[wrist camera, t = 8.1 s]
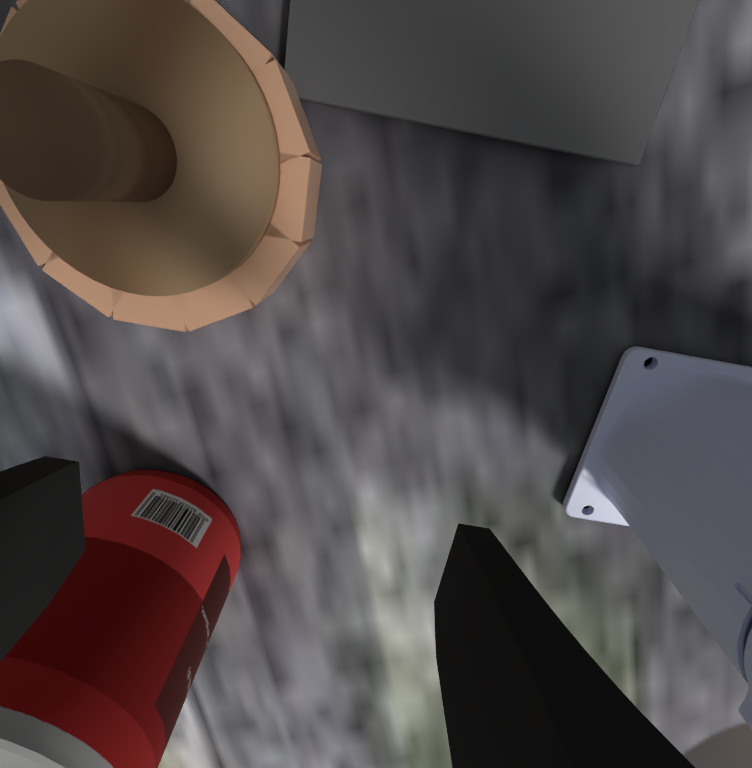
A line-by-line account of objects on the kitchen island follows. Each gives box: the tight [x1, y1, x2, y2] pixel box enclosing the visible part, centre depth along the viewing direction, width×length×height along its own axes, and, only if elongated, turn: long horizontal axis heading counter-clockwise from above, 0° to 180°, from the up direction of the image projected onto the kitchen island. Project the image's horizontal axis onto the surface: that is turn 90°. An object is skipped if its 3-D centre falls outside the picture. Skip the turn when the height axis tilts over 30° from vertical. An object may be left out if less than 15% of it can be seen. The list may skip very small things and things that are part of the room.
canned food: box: [0, 470, 241, 768], centre depth 17 cm, size 8×8×11 cm
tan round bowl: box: [0, 0, 322, 332], centre depth 14 cm, size 9×9×3 cm
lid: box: [0, 0, 281, 296], centre depth 11 cm, size 8×8×4 cm
